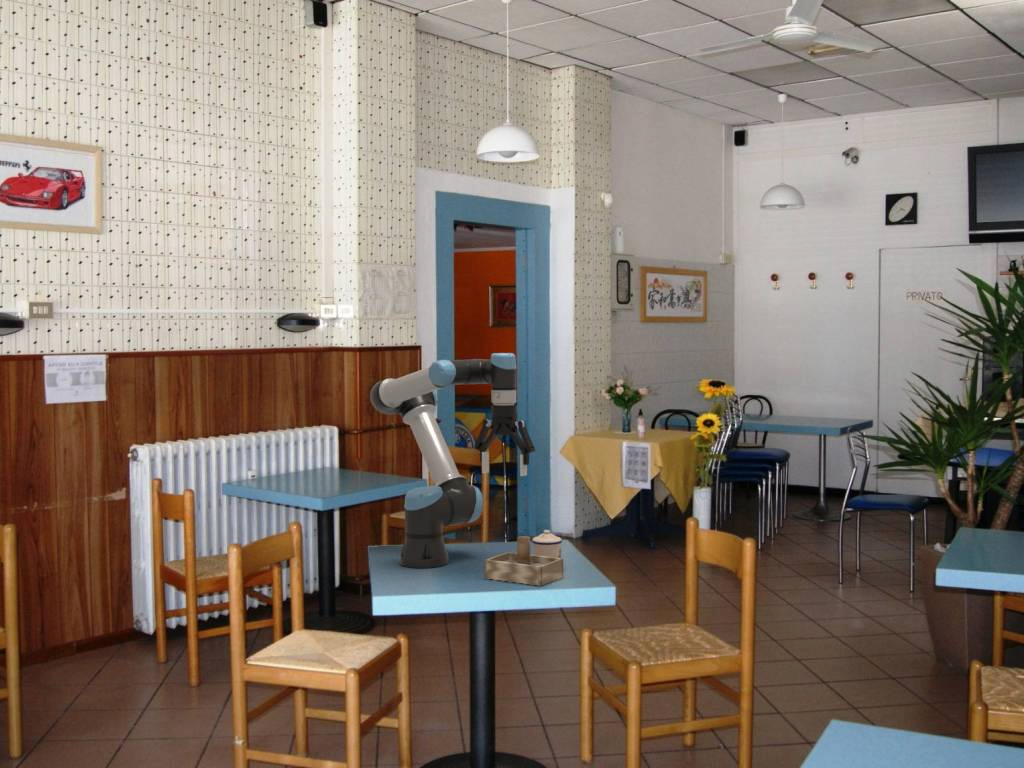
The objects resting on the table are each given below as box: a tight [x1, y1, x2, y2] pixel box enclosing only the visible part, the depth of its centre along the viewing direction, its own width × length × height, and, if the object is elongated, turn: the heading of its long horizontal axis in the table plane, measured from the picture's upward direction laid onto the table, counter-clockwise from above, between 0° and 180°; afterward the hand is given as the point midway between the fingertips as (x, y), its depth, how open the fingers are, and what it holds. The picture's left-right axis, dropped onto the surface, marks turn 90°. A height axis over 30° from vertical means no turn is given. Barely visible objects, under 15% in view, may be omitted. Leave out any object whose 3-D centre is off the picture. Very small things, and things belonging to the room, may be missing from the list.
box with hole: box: [483, 551, 564, 587], centre depth 306 cm, size 19×13×6 cm
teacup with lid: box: [531, 529, 563, 558], centre depth 319 cm, size 12×9×12 cm
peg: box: [516, 535, 531, 565], centre depth 305 cm, size 4×4×12 cm
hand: (504, 474), depth 318 cm, fingers open, 13 cm apart
